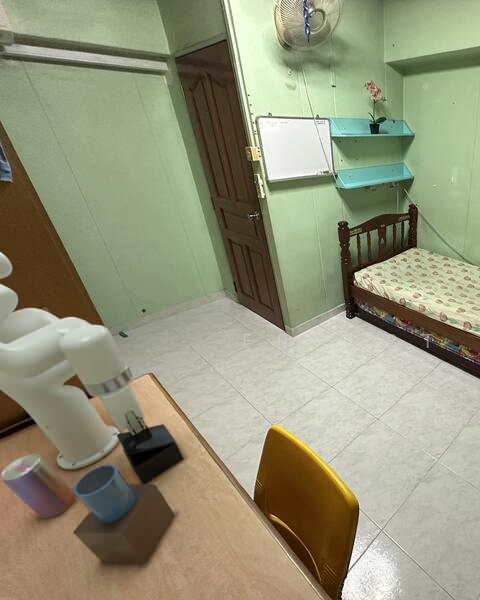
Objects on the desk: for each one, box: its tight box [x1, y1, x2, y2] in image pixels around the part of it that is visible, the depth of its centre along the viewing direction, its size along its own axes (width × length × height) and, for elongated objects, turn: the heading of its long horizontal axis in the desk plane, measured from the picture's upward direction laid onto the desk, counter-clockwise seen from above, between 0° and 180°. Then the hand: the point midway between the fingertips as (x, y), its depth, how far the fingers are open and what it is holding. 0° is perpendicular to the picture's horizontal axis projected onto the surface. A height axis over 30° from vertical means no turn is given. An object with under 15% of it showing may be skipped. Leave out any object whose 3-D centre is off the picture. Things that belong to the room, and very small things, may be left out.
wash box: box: [122, 442, 185, 484], centre depth 80 cm, size 9×8×6 cm
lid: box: [117, 423, 176, 456], centre depth 77 cm, size 10×8×4 cm
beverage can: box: [0, 453, 75, 519], centre depth 68 cm, size 6×6×15 cm
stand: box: [72, 483, 176, 564], centre depth 64 cm, size 9×9×12 cm
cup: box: [73, 463, 136, 523], centre depth 59 cm, size 6×6×9 cm
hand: (141, 434), depth 76 cm, fingers closed on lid, 4 cm apart
